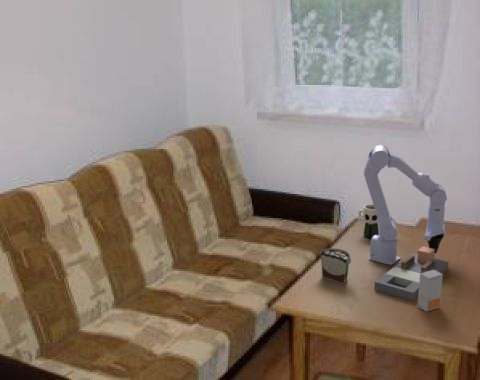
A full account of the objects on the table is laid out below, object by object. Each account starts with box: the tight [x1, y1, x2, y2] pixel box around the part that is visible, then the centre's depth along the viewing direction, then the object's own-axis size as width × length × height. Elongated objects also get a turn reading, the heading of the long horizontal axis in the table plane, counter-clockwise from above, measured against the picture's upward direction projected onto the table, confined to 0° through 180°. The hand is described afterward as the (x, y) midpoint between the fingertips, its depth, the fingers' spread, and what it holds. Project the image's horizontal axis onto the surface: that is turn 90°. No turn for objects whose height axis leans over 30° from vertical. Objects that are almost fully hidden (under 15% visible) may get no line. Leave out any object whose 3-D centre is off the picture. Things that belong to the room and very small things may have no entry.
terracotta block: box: [417, 246, 436, 264], centre depth 231 cm, size 4×4×4 cm
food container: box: [318, 248, 352, 285], centre depth 226 cm, size 12×6×10 cm, turn 47°
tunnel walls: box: [400, 254, 435, 273], centre depth 226 cm, size 9×8×2 cm
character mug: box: [358, 203, 380, 239], centre depth 262 cm, size 11×7×13 cm, turn 70°
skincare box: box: [417, 270, 444, 312], centre depth 203 cm, size 6×4×12 cm
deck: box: [374, 252, 449, 302], centre depth 224 cm, size 14×30×3 cm, turn 141°
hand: (433, 252), depth 236 cm, fingers closed
